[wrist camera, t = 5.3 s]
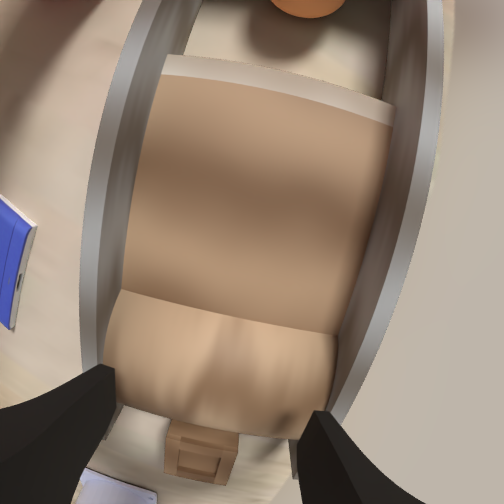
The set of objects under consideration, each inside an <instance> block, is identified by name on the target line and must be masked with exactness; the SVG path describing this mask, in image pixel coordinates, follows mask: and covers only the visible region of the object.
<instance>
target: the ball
mask: <svg viewBox="0 0 504 504" xmlns="http://www.w3.org/2000/svg"><path fill="white" fill-rule="evenodd" d="M271 1H272V2H273V3H274V4H275V5H276V6H277V7H278V8H280V9H281V10H283V11H284V12H286V13H288V14H291V15H294V16H297V17H303V18H317V17H322V16H326V15H329V14H331V13H333V12H334V11H336V10H337V9H338V8H339V7H341V6H342V4H343V3H344V2H345V0H271Z"/></svg>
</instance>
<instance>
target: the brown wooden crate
mask: <svg viewBox="0 0 504 504" xmlns="http://www.w3.org/2000/svg"><path fill="white" fill-rule="evenodd" d="M238 441H239V433H236V432H230V431H224V430H219V429H214V428H209V427H204V426H199V425H195V424H191V423H186V422H182V421H178V420H174V419H172V420H171V423H170V426H169V430H168V433H167V436H166V443H165V460H164V473H167V474H171V475H175V476H179V477H183V478H188V479H192V480H197V481H202V482H207V483H213V484H219V485H225V486H226V484H227V481H228V479H229V476H230V473H231V470H232V468H233V465H234V462H235V459H236V456H237V453H238Z"/></svg>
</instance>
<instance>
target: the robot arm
mask: <svg viewBox="0 0 504 504" xmlns="http://www.w3.org/2000/svg"><path fill="white" fill-rule="evenodd" d="M116 408H117V406H116V387H115V368H112V367H109V366H107V365H104V364H101V363H100V364H98V365H96V366H94V367H93V368H91V369H89V370H87V371H86V372H84V373H82V374H81V375H79V376H77V377H75V378H74V379H72V380H70V381H68V382H66V383H65V384H63V385H61V386H59V387H57V388H55V389H53V390H51V391H49V392H47V393H45V394H43V395H40V396H38V397H36V398H34V399H31V400H29V401H26V402H23V403H20V404H17V405H14V406H10V407H6V408H2V409H0V504H71V501H72V498H73V495H74V492H75V490H76V487H77V485H78V482H79V480H81V483H82V486H83V488H82V490H81V492H80V494H79V496H78V498H77V501H76V503H75V504H157V494H156V493H155V492H152V491H149V490H146V489H142V488H139V487H136V486H133V485H130V484H127V483H124V482H121V481H118V480H115V479H113V478H110V477H107V476H105V475H102V474H100V473H97V472H95V471H92V470H90V469H87V468H85V467H86V466H87V464H88V462H89V460H90V459H91V457H92V455H93V454H94V452H95V450H96V448H97V447H98V445H99V443H100V442H101V440H102V438H103V436H104V435H105V433H106V431H107V429H108V427H109V425H110V423H111V420H112V418H113V415H114V413H115V410H116ZM297 472H298V478H299V485H300V490H301V497H302V503H303V504H425V503H424V502H422V501H420V500H418V499H416V498H415V497H413V496H412V495H410V494H409V493H407V492H406V491H404V490H403V489H402V488H400V487H399V486H397V485H396V484H395V483H394V482H393V481H391V480H390V479H389V478H388V477H387V476H385V475H384V474H383V473H382V472H381V471H380V470H379V469H378V468H377V467H376V466H375V465H374V464H373V463H372V462H371V461H370V460H369V459H368V458H367V457H366V456H365V455H364V454H363V452H361V450H360V449H359V448H358V447H357V446H356V444H355V443H354V442H353V441H352V440H351V438H350V437H349V436H348V435H347V433H346V432H345V431H344V429H343V428H342V427H341V426H340V424H339V423H338V422H337V420H336V419H335V418H334V417H333V415H332V414H331V413H330V412H329V411H318V410H314V411H313V413H312V415H311V417H310V419H309V421H308V423H307V425H306V427H305V429H304V431H303V433H302V435H301V437H300V439H299V441H298V443H297Z"/></svg>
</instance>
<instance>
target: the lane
mask: <svg viewBox="0 0 504 504" xmlns="http://www.w3.org/2000/svg"><path fill="white" fill-rule="evenodd" d="M202 1H203V0H143V1H142V3H141V5H140V8H139V10H138V12H137V14H136V17H135V19H134V21H133V24H132V26H131V29H130V31H129V34H128V36H127V39H126V41H125V44H124V47H123V49H122V52H121V55H120V58H119V61H118V64H117V67H116V70H115V73H114V76H113V79H112V82H111V85H110V89H109V92H108V96H107V99H106V103H105V106H104V110H103V114H102V118H101V122H100V126H99V131H98V135H97V139H96V144H95V149H94V154H93V159H92V164H91V170H90V176H89V182H88V189H87V196H86V203H85V211H84V220H83V230H82V242H81V257H80V283H79V317H80V342H81V357H82V369H83V373H84V372H86V371H87V370H89V369H91V368H93V367H94V366H96V365H98V364H100V363H101V364H104V365H107V366H109V367H112V368H115V387H116V406H117V408H116V410H115V413H114V415H113V418H112V420H111V423H110V425H109V427H108V429H107V431H106V433H105V435H104V436H103V438H102V439H103V440H106V438H107V436H108V435H109V433H110V431H111V429H112V427H113V425H114V423H115V421H116V419H117V417H118V416H119V414H120V412H121V410H122V408H123V406H124V405H126V406H130V407H133V408H136V409H139V410H142V411H145V412H149V413H152V414H156V415H159V416H163V417H167V418H170V419H174V420H178V421H182V422H186V423H191V424H195V425H199V426H204V427H209V428H214V429H219V430H224V431H230V432H236V433H242V434H249V435H256V436H263V437H272V438H281V439H288V442H289V451H290V459H291V468H292V477H293V479H298V480H299V478H298V472H297V443H298V441H299V439H300V437H301V435H302V433H303V431H304V429H305V427H306V425H307V423H308V421H309V419H310V417H311V415H312V413H313V411H314V410H318V411H329V412H330V413H331V414H332V415H333V417H334V418H335V419H336V420H337V422H338V423H339V424H340V426H341V424H342V422H343V420H344V418H345V417H346V415H347V413H348V411H349V409H350V407H351V406H352V404H353V402H354V400H355V398H356V396H357V394H358V392H359V390H360V388H361V386H362V384H363V382H364V380H365V377H366V376H367V373H368V371H369V369H370V367H371V365H372V362H373V360H374V358H375V356H376V354H377V351H378V349H379V347H380V344H381V342H382V340H383V337H384V335H385V332H386V330H387V327H388V325H389V322H390V320H391V317H392V314H393V312H394V309H395V306H396V304H397V301H398V298H399V295H400V292H401V289H402V287H403V284H404V280H405V278H406V274H407V271H408V268H409V265H410V262H411V258H412V255H413V252H414V248H415V245H416V241H417V237H418V234H419V230H420V226H421V222H422V218H423V214H424V210H425V205H426V201H427V196H428V192H429V187H430V182H431V177H432V171H433V166H434V160H435V154H436V147H437V140H438V133H439V124H440V115H441V105H442V92H443V73H444V26H443V8H442V0H392V2H391V20H390V33H389V44H388V54H387V64H386V72H385V80H384V87H383V94H382V101H381V100H378V99H375V98H373V97H370V96H367V95H364V94H362V93H359V92H356V91H353V90H350V89H347V88H344V87H341V86H338V85H334V84H331V83H328V82H324V81H321V80H317V79H314V78H310V77H306V76H303V75H299V74H295V73H291V72H286V71H282V70H277V69H273V68H268V67H263V66H258V65H253V64H247V63H241V62H235V61H229V60H221V59H214V58H206V57H196V56H185V55H183V53H184V50H185V47H186V44H187V41H188V38H189V35H190V33H191V30H192V27H193V24H194V22H195V19H196V16H197V14H198V11H199V8H200V6H201V3H202Z"/></svg>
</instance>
